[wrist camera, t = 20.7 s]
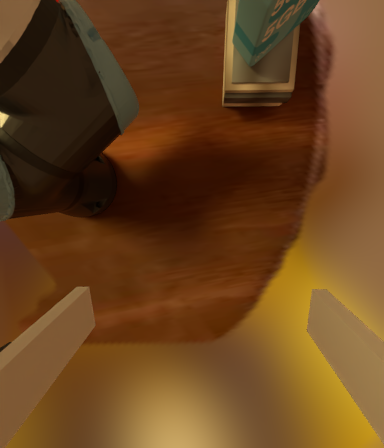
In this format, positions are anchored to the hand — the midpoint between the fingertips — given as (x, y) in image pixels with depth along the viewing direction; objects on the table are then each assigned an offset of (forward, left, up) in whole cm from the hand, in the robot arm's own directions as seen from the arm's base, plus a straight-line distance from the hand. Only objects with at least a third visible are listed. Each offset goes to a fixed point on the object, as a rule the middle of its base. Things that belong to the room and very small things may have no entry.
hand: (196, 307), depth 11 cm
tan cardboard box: (+8, +32, -31) cm, 45 cm away
